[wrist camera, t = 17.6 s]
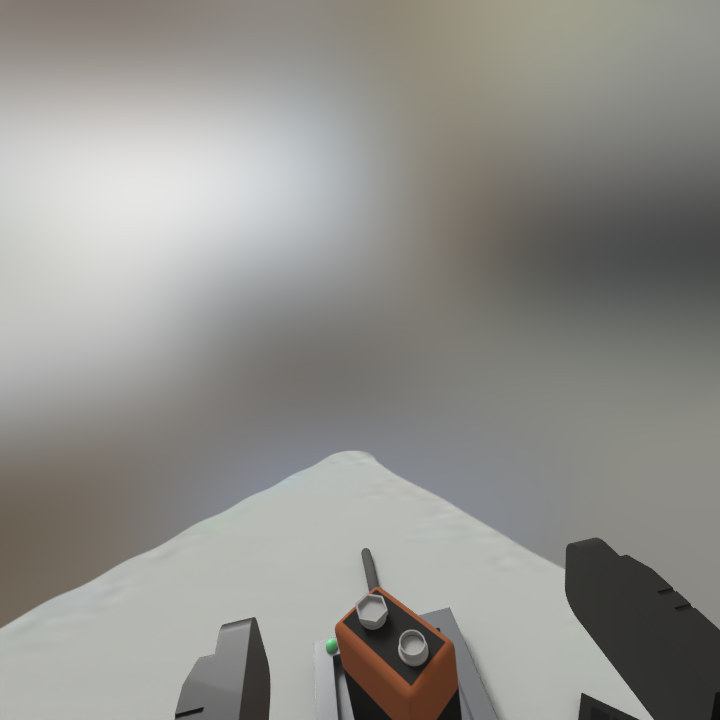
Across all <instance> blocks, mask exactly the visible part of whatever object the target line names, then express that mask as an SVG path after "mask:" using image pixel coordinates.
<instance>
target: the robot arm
mask: <svg viewBox="0 0 720 720" xmlns="http://www.w3.org/2000/svg"><path fill="white" fill-rule="evenodd" d="M565 592H566V597H567V600H568V602H569V605H570V607H571V609H572V611H573V613H574V614H575V616H576V617H577V619H578V620H579V621H580V623H581V624H582V625H583V627H584V628H585V629H586V631H587V632H588V633H589V635H590V636H591V637H592V638H593V640H594V641H595V642H596V644H597V645H598V646H599V648H600V649H601V650H602V652H603V653H604V654H605V656H606V657H607V658H608V660H609V661H610V662H611V664H612V665H613V666H614V667H615V669H616V670H617V671H618V673H619V674H620V675H621V677H622V678H623V679H624V681H625V682H626V683H627V685H628V686H629V687H630V689H631V690H632V691H633V692H634V694H635V695H636V696H637V698H638V699H639V700H640V702H641V703H642V704H643V706H644V707H645V708H646V710H647V711H648V712H649V714H650V715H651V716H652V718H653V719H654V720H720V630H719V629H718V628H717V627H716V626H715V625H714V624H712V623H711V622H710V621H709V620H708V619H707V618H706V617H705V616H704V615H703V614H701V613H700V612H699V611H698V610H697V609H696V608H692V606H691V604H690V603H689V602H688V601H687V600H686V599H685V598H684V597H683V596H681V595H680V594H679V593H678V592H677V591H676V592H675V591H674V590H673V587H671V586H670V585H669V584H668V583H667V582H666V581H665V580H664V579H663V578H661V577H660V576H659V575H658V574H657V573H656V572H655V571H654V570H653V569H651V568H649V567H648V566H646V565H644V564H642V563H641V562H639V561H637V560H635V559H633V558H632V557H630V556H628V555H624V556H619V555H618V554H617V553H616V552H615V551H614V550H613V549H612V548H611V547H610V546H608V545H607V544H606V543H605V542H604V541H603V540H601V539H599V538H592V539H588V540H583V541H579V542H575V543H570V544H568V546H567V548H566V571H565ZM269 708H270V672H269V665H268V660H267V656H266V653H265V649H264V645H263V642H262V638H261V634H260V631H259V627H258V623H257V620H256V618H255V617H253V618H249V619H245V620H240V621H236V622H232V623H228V624H224V625H222V627H221V629H220V632H219V636H218V641H217V646H216V651H215V654H213V655H209V656H205V657H201V658H199V659H198V660H197V662H196V664H195V665H194V667H193V669H192V670H191V672H190V674H189V675H188V677H187V679H186V680H185V682H184V684H183V686H182V690H181V694H180V697H179V701H178V705H177V709H176V712H175V720H269Z"/></svg>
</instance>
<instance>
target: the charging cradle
mask: <svg viewBox="0 0 720 720" xmlns="http://www.w3.org/2000/svg"><path fill="white" fill-rule="evenodd" d="M361 554H362V559H363V564H364V568H365V573H366V578H367V583H368V587H369V592H371V591H372V590H373V589H374V588H375V587H379V586H378V582H377V578H376V574H375V569H374V565H373V561H372V557H371V553H370V550H369V549H367V548H364V549H363V550H362V553H361ZM419 617H421V618H422V619H423V620H425V621H426V622H427V623H429V624H430V625H431V626H433V627H434V628H435V629H437V630H438V631H439V632H441V633H442V634H443V635H445V636H446V637H447V638H449V639H450V640H451V641H452V642H453V644H454V647H455V655H456V665H457V675H458V685H459V694H460V704H461V714H462V720H498V719H497V717H496V714H495V712H494V710H493V707H492V705H491V703H490V700H489V698H488V696H487V693H486V691H485V689H484V686H483V684H482V682H481V679H480V677H479V675H478V672H477V670H476V668H475V665H474V663H473V661H472V658H471V656H470V654H469V651H468V649H467V647H466V644H465V642H464V640H463V637H462V635H461V633H460V630H459V628H458V626H457V623H456V621H455V619H454V616H453V614H452V612H451V609H450V607H449V608H446V609H442V610H438V611H434V612H430V613H426V614H423V615H419ZM313 645H314V670H315V695H316V720H354V716H353V712H352V707H351V702H350V698H349V693H348V689H347V684H346V679H345V675H344V670H343V665H342V661H341V656H340V652H339V647H338V642H337V638H336V637H334V638H330V639H326V640H322V641H319V642H315V643H313Z"/></svg>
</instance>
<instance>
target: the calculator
mask: <svg viewBox="0 0 720 720" xmlns="http://www.w3.org/2000/svg"><path fill="white" fill-rule="evenodd" d="M578 720H639V719H637V718H634V717H632V716H630V715H628V714H626V713H624V712H622V711H620V710H617V709H615V708H613V707H611V706H609V705H607V704H605V703H603V702H600V701H598V700H596V699H594V698H592V697H590V696H588V695H586V694H583V693H582V694H581V702H580V710H579V718H578Z"/></svg>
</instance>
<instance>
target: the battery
mask: <svg viewBox="0 0 720 720" xmlns="http://www.w3.org/2000/svg"><path fill="white" fill-rule="evenodd" d="M335 633H336V638H337V642H338V647H339V652H340V656H341V661H342V665H343V670H344V675H345V679H346V684H347V689H348V693H349V698H350V702H351V707H352V712H353V716H354V720H462V714H461V704H460V694H459V685H458V675H457V665H456V655H455V647H454V644H453V642H452V641H451V640H450V639H449V638H447V637H446V636H445V635H443V634H442V633H441V632H439V631H438V630H437V629H435V628H434V627H433V626H431V625H430V624H429V623H427V622H426V621H425V620H423V619H422V618H421V617H419V616H418V615H417V614H415V613H414V612H413V611H411V610H410V609H409V608H407V607H406V606H405V605H403V604H402V603H401V602H399V601H398V600H397V599H395V598H394V597H393V596H391V595H390V594H389V593H387V592H386V591H384V590H383V589H382V588H380V587H375V588H374V589H373V590H372V591H371V592H369V593H368V594H366V595H365V596H364V597H363V598H362V599H361V600H359V601H358V602H357V603H356V606H355V607H354V608H353V609H352V610H351V611H350V612H349V613H347V614H346V615H345V616H344V617H343V618H342V619H341V620H340V621H339V622H338V623H337V624H336V626H335Z"/></svg>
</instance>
